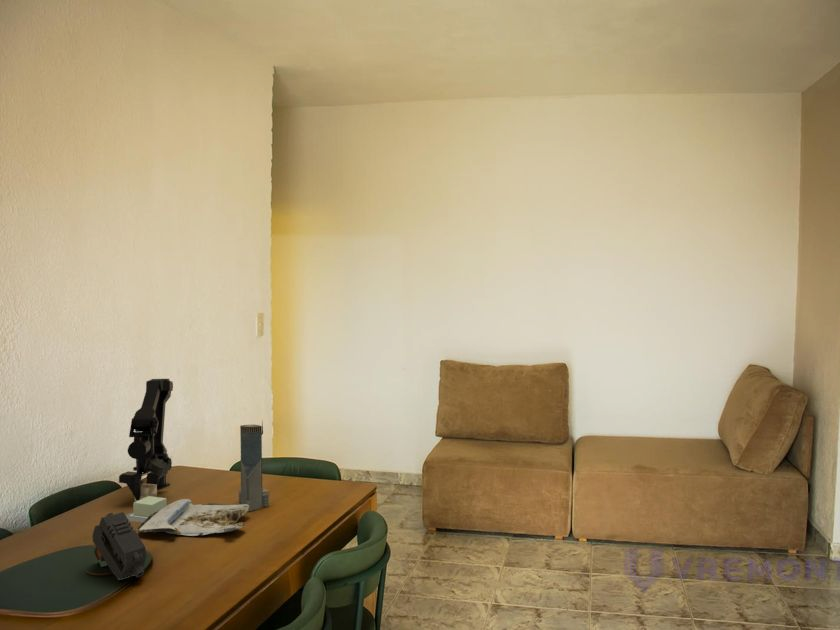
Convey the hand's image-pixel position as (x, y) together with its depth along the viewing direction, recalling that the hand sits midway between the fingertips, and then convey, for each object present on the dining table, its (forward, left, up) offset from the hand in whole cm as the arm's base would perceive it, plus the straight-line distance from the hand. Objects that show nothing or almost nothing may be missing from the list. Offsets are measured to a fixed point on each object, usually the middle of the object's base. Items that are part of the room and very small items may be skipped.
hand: (145, 497), depth 234 cm
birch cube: (0, 0, -1) cm, 1 cm away
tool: (+50, +34, -1) cm, 60 cm away
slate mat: (+11, +11, -1) cm, 16 cm away
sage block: (+11, +11, -1) cm, 16 cm away
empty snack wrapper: (+16, +33, -1) cm, 37 cm away
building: (-5, +38, -1) cm, 38 cm away
